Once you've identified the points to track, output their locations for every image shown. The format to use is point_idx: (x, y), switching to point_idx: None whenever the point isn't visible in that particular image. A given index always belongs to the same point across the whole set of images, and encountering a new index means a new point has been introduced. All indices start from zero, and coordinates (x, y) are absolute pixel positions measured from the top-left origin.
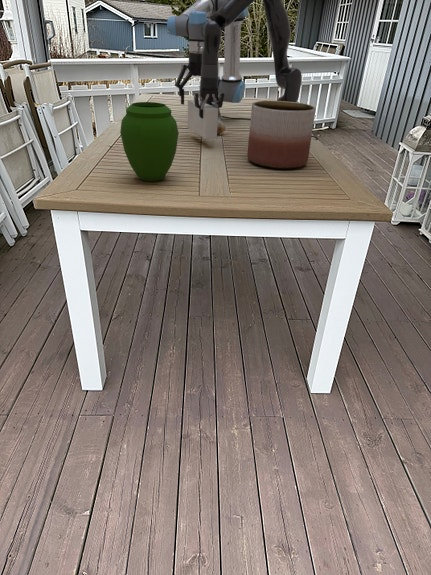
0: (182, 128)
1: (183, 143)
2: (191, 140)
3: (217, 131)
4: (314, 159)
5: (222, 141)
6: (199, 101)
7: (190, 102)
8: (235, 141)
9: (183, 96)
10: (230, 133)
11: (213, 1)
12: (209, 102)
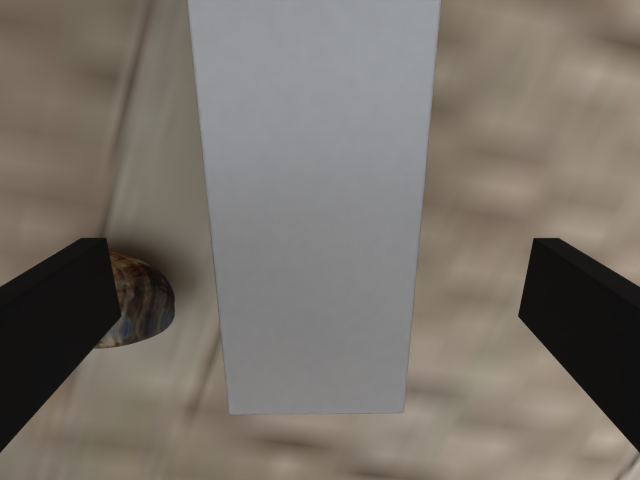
0: (302, 451)
1: (461, 52)
2: None
3: (118, 253)
4: None
5: (137, 56)
6: (257, 305)
7: (412, 294)
8: (28, 34)
9: (631, 290)
10: None
11: None
12: (94, 256)
